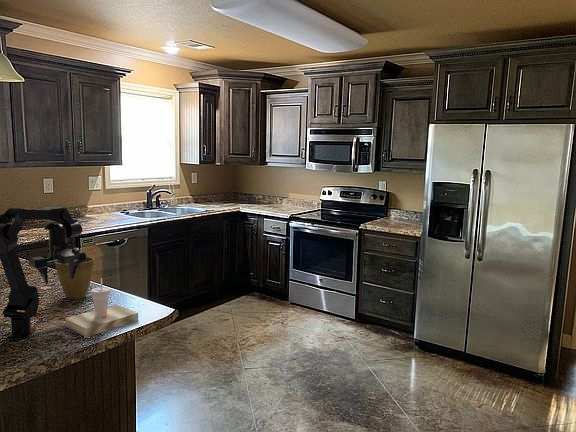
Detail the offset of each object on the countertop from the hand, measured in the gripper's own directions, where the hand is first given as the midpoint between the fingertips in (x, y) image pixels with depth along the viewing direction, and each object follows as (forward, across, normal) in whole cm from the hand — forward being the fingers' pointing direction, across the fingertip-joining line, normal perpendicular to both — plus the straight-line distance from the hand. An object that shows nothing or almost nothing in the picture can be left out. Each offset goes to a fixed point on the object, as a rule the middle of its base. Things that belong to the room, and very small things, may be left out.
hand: (59, 281), depth 165 cm
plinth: (+13, +6, -19) cm, 24 cm away
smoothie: (+10, +5, -19) cm, 22 cm away
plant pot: (+13, +14, +17) cm, 26 cm away
